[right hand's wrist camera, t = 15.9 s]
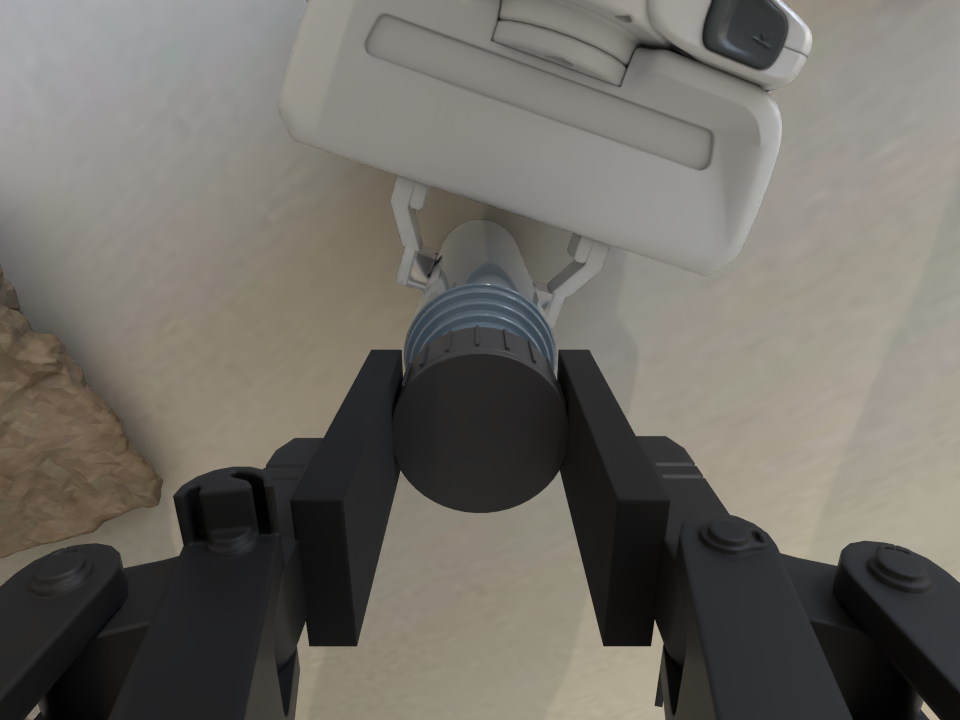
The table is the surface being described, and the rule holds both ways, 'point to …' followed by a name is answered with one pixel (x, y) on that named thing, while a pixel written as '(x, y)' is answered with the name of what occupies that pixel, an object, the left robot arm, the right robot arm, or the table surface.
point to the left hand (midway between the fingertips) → (475, 305)
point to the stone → (58, 443)
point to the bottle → (479, 291)
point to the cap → (480, 421)
